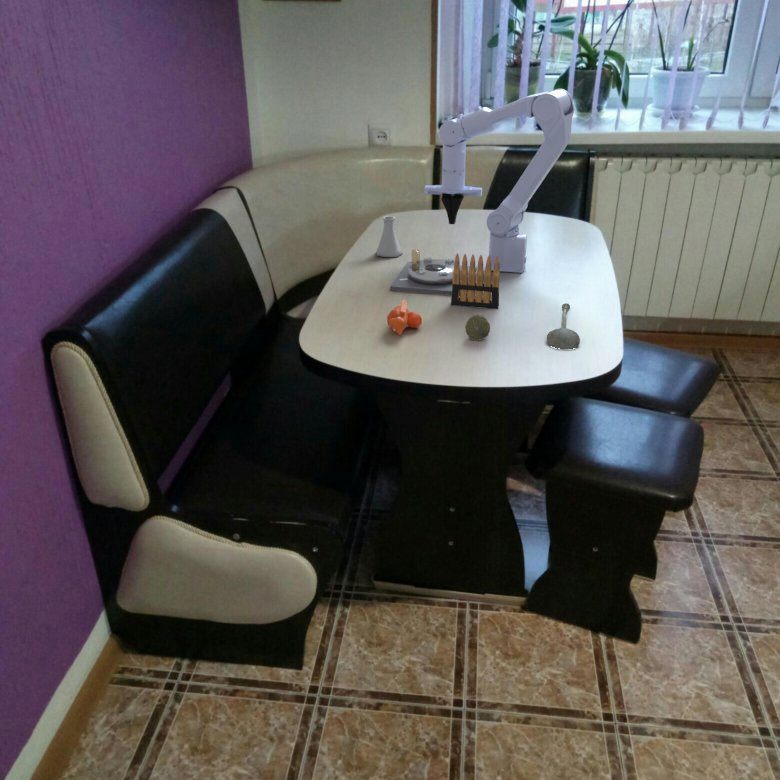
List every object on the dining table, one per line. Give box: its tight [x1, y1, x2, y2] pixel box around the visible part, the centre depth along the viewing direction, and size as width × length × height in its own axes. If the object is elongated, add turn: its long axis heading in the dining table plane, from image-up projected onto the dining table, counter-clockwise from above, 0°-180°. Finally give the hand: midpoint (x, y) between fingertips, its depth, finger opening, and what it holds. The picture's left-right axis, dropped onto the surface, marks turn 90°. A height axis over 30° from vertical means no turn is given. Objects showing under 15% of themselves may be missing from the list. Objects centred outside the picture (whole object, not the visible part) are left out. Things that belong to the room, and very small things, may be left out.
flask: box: [375, 215, 403, 258], centre depth 194 cm, size 7×7×10 cm
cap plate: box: [389, 261, 478, 296], centre depth 179 cm, size 18×18×1 cm
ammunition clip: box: [450, 253, 501, 310], centre depth 161 cm, size 11×2×12 cm, turn 76°
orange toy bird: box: [386, 299, 423, 336], centre depth 153 cm, size 5×8×12 cm
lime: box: [464, 314, 491, 341], centre depth 148 cm, size 4×5×5 cm
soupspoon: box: [546, 302, 581, 350], centre depth 153 cm, size 22×3×7 cm
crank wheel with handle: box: [409, 248, 462, 285], centre depth 177 cm, size 13×13×7 cm
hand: (452, 223), depth 188 cm, fingers closed
